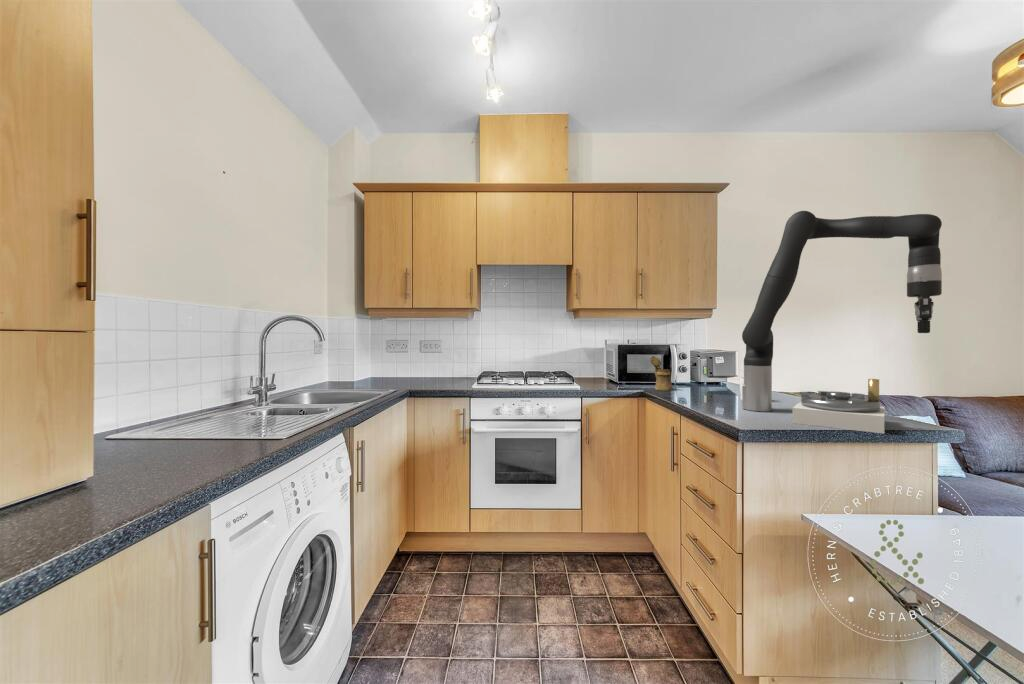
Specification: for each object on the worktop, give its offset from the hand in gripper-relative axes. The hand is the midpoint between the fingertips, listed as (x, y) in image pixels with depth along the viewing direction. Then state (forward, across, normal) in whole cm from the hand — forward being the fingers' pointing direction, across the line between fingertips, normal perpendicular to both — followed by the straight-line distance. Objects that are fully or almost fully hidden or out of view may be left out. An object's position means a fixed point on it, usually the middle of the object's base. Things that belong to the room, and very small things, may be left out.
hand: (923, 333), depth 124 cm
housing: (+29, +9, -20) cm, 36 cm away
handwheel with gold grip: (+24, +9, -20) cm, 32 cm away
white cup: (+30, -24, -53) cm, 65 cm away
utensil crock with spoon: (+30, -37, -98) cm, 108 cm away
